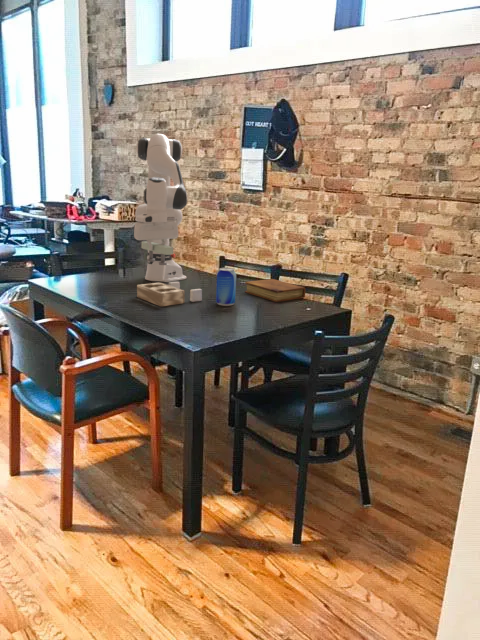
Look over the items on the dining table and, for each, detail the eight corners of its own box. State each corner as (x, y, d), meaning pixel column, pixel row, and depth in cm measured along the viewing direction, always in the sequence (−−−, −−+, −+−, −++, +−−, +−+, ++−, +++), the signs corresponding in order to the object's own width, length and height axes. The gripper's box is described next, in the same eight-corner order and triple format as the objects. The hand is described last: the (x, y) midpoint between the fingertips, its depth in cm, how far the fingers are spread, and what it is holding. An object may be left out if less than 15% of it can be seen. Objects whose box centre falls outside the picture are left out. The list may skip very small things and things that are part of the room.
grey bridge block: (148, 259, 237) (148, 241, 234) (173, 266, 222) (173, 247, 220) (141, 259, 234) (141, 241, 232) (165, 266, 220) (166, 247, 218)
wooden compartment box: (160, 295, 245) (160, 282, 244) (184, 304, 231) (184, 290, 229) (137, 297, 238) (137, 284, 236) (160, 307, 223) (161, 293, 221)
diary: (304, 298, 254) (305, 287, 253) (276, 303, 243) (277, 291, 241) (272, 289, 271) (273, 278, 270) (244, 293, 260) (245, 281, 258)
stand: (177, 292, 251) (177, 281, 249) (201, 301, 237) (202, 289, 235) (168, 294, 248) (168, 282, 246) (192, 302, 234) (192, 290, 232)
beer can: (237, 303, 235) (239, 268, 231) (231, 308, 228) (232, 271, 223) (220, 301, 238) (221, 266, 234) (213, 305, 230) (214, 269, 226)
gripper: (173, 216, 232) (173, 247, 236) (131, 216, 219) (132, 250, 223) (181, 217, 227) (181, 249, 231) (139, 218, 214) (139, 252, 218)
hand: (156, 249), depth 227 cm, fingers closed on grey bridge block, 3 cm apart
